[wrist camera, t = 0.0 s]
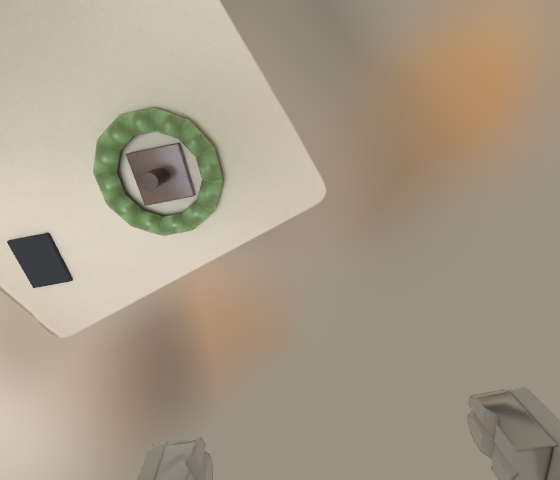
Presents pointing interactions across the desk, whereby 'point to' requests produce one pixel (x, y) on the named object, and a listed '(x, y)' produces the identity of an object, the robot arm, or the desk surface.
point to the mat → (40, 260)
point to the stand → (161, 174)
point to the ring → (172, 126)
